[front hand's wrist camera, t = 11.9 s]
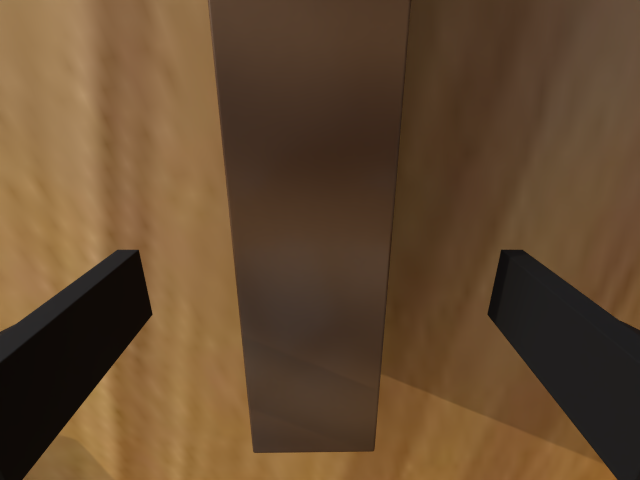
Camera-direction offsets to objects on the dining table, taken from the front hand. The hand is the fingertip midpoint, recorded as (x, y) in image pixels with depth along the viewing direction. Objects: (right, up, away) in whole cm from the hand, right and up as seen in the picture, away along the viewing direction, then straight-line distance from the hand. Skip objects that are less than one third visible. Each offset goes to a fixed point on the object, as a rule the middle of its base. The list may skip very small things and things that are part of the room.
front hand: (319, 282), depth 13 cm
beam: (0, +29, -6) cm, 30 cm away
